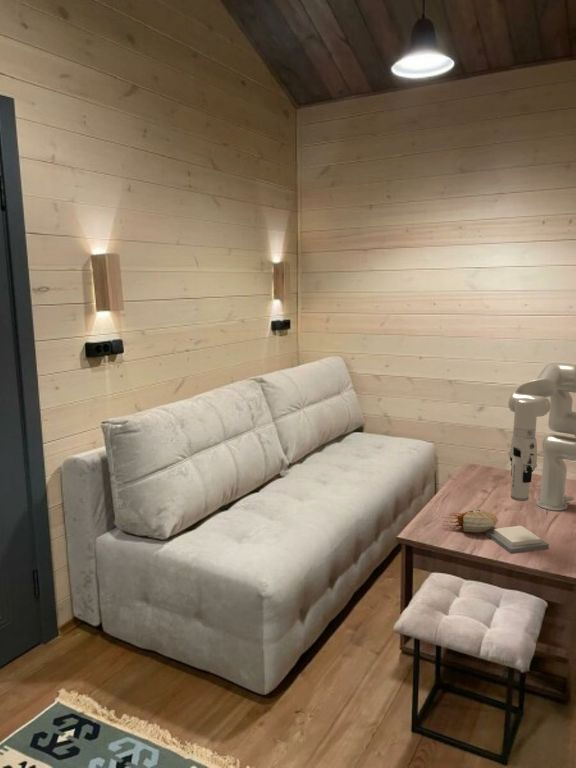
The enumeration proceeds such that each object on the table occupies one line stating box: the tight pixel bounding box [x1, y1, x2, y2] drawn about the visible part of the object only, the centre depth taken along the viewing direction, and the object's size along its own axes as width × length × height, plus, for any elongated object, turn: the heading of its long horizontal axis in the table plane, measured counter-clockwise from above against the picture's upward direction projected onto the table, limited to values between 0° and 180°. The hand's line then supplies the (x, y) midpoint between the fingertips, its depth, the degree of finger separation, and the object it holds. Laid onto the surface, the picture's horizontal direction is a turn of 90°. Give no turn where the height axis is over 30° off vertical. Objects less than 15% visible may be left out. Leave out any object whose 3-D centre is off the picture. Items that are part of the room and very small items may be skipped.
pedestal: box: [485, 525, 550, 554], centre depth 221 cm, size 16×16×3 cm
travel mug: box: [510, 448, 531, 502], centre depth 217 cm, size 6×7×20 cm
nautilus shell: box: [442, 509, 499, 533], centre depth 232 cm, size 8×22×15 cm
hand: (520, 478), depth 217 cm, fingers closed on travel mug, 6 cm apart
